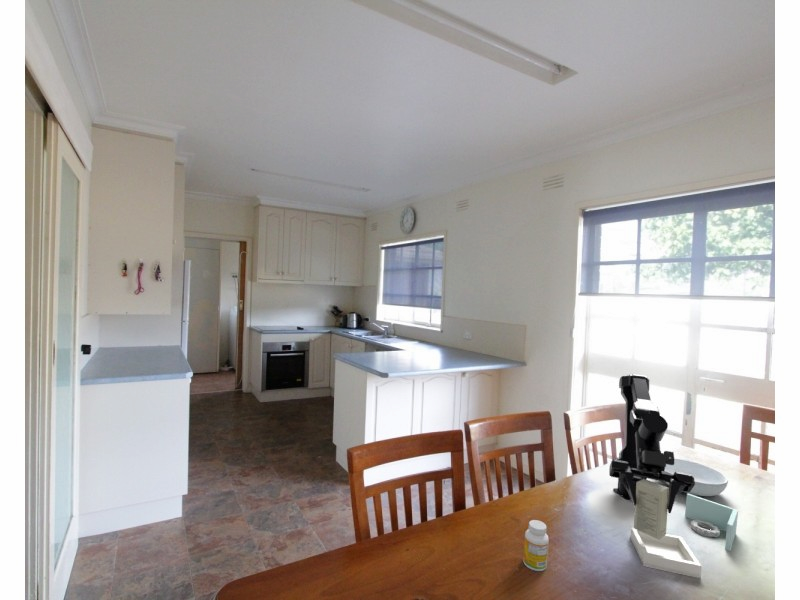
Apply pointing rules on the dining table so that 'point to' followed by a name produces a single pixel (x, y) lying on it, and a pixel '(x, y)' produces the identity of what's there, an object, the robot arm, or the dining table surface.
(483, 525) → the dining table surface
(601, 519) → the dining table surface
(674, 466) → the serving bowl
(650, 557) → the holder tray
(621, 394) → the robot arm
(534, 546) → the supplement bottle
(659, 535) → the skincare box
